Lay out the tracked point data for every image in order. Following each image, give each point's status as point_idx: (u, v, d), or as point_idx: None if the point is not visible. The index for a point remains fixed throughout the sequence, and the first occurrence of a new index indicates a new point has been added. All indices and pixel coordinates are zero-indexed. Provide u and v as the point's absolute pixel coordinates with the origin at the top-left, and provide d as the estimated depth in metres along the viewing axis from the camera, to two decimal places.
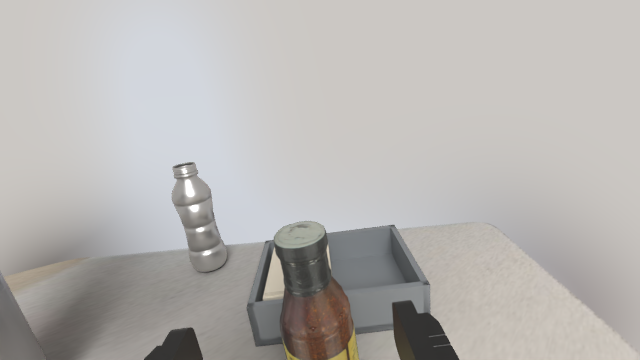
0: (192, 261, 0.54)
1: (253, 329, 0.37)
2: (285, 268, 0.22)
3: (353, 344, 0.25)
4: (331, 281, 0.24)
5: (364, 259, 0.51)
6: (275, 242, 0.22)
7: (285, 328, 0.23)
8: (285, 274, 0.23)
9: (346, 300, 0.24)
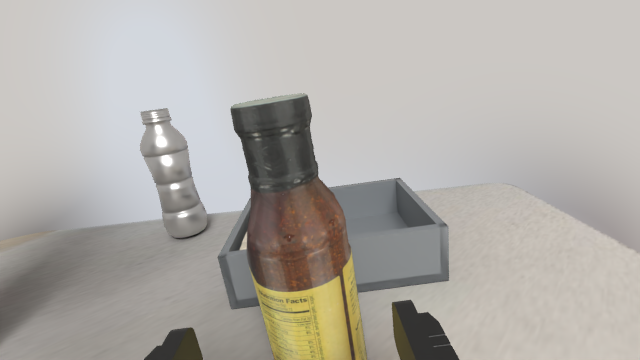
0: (166, 225, 0.46)
1: (227, 286, 0.29)
2: (247, 148, 0.15)
3: (350, 274, 0.17)
4: (318, 179, 0.17)
5: (365, 218, 0.44)
6: (231, 107, 0.15)
7: (250, 243, 0.16)
8: (248, 160, 0.15)
9: (340, 209, 0.17)
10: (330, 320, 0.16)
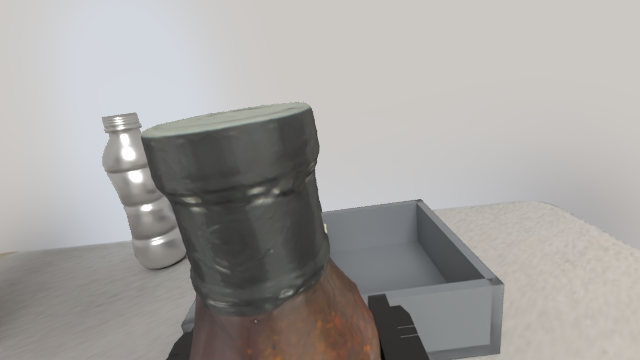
0: (136, 253, 0.38)
1: None
2: (179, 223, 0.07)
3: None
4: (329, 269, 0.09)
5: (379, 249, 0.35)
6: (143, 133, 0.07)
7: None
8: (184, 243, 0.07)
9: (370, 322, 0.09)
10: None
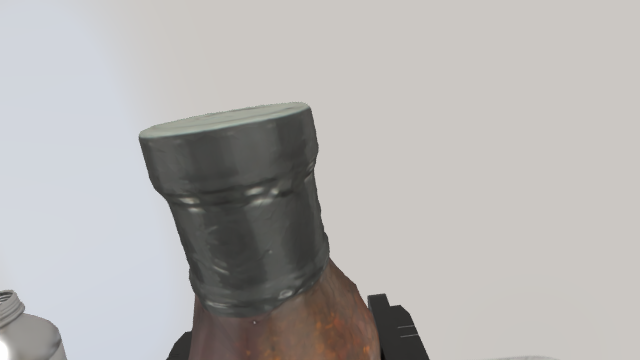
0: None
1: None
2: (178, 223, 0.07)
3: None
4: (329, 270, 0.08)
5: None
6: (141, 134, 0.07)
7: None
8: (183, 244, 0.07)
9: (370, 323, 0.09)
10: None
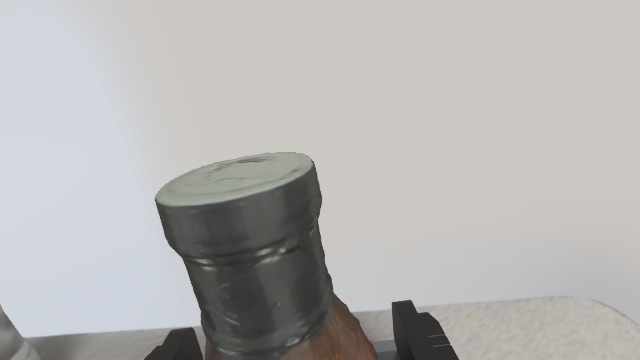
0: None
1: None
2: (191, 277, 0.07)
3: None
4: (333, 310, 0.09)
5: None
6: None
7: None
8: (196, 294, 0.08)
9: (373, 359, 0.09)
10: None
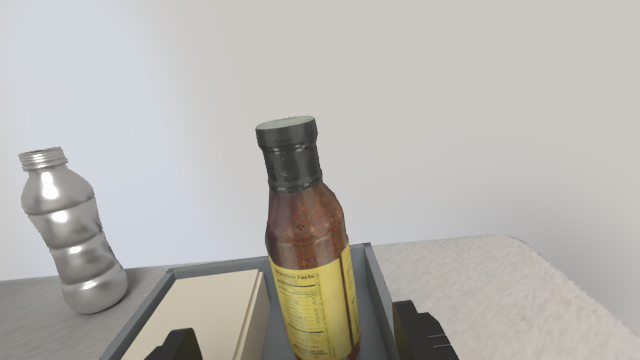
0: (64, 298, 0.35)
1: None
2: (268, 159, 0.19)
3: (348, 257, 0.22)
4: (322, 183, 0.21)
5: None
6: (257, 128, 0.19)
7: (269, 232, 0.20)
8: (269, 168, 0.20)
9: (339, 206, 0.21)
10: (331, 293, 0.21)
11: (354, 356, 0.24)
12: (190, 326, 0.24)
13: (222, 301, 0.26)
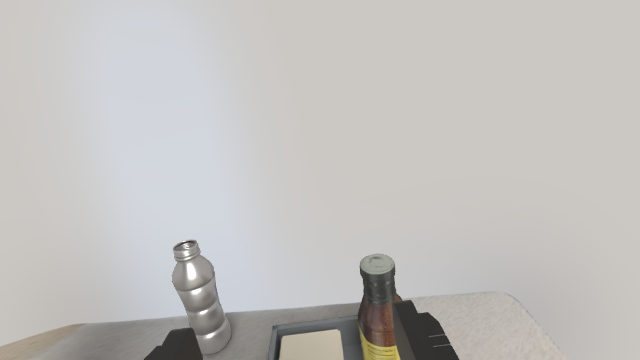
0: None
1: None
2: (369, 286, 0.34)
3: None
4: (395, 294, 0.36)
5: None
6: (363, 269, 0.34)
7: (367, 325, 0.35)
8: (368, 290, 0.35)
9: None
10: None
11: None
12: None
13: (323, 355, 0.41)
